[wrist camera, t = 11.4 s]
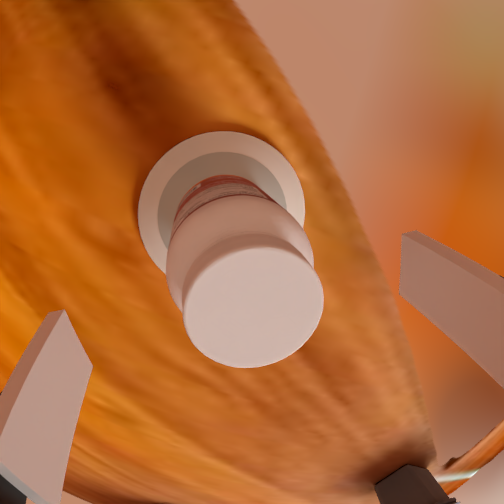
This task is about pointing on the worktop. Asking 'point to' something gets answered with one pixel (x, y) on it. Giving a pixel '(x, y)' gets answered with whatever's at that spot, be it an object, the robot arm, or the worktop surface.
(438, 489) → the storage bin
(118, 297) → the worktop surface
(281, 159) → the coaster
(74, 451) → the worktop surface
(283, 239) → the pill bottle
